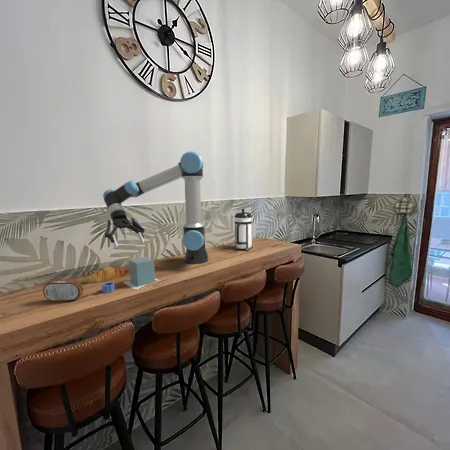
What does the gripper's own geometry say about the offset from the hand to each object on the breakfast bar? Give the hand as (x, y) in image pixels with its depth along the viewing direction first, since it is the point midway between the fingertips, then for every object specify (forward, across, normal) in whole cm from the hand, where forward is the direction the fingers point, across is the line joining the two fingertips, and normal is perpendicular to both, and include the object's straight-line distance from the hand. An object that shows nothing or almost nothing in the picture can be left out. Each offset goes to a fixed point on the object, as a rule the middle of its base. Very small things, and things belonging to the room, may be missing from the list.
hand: (130, 245), depth 132 cm
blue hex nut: (+20, +15, -5) cm, 25 cm away
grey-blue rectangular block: (+20, -1, -4) cm, 20 cm away
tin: (+17, +32, -8) cm, 37 cm away
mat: (+20, -1, -4) cm, 20 cm away
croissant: (+7, +10, -18) cm, 22 cm away
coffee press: (+10, -85, -14) cm, 87 cm away
